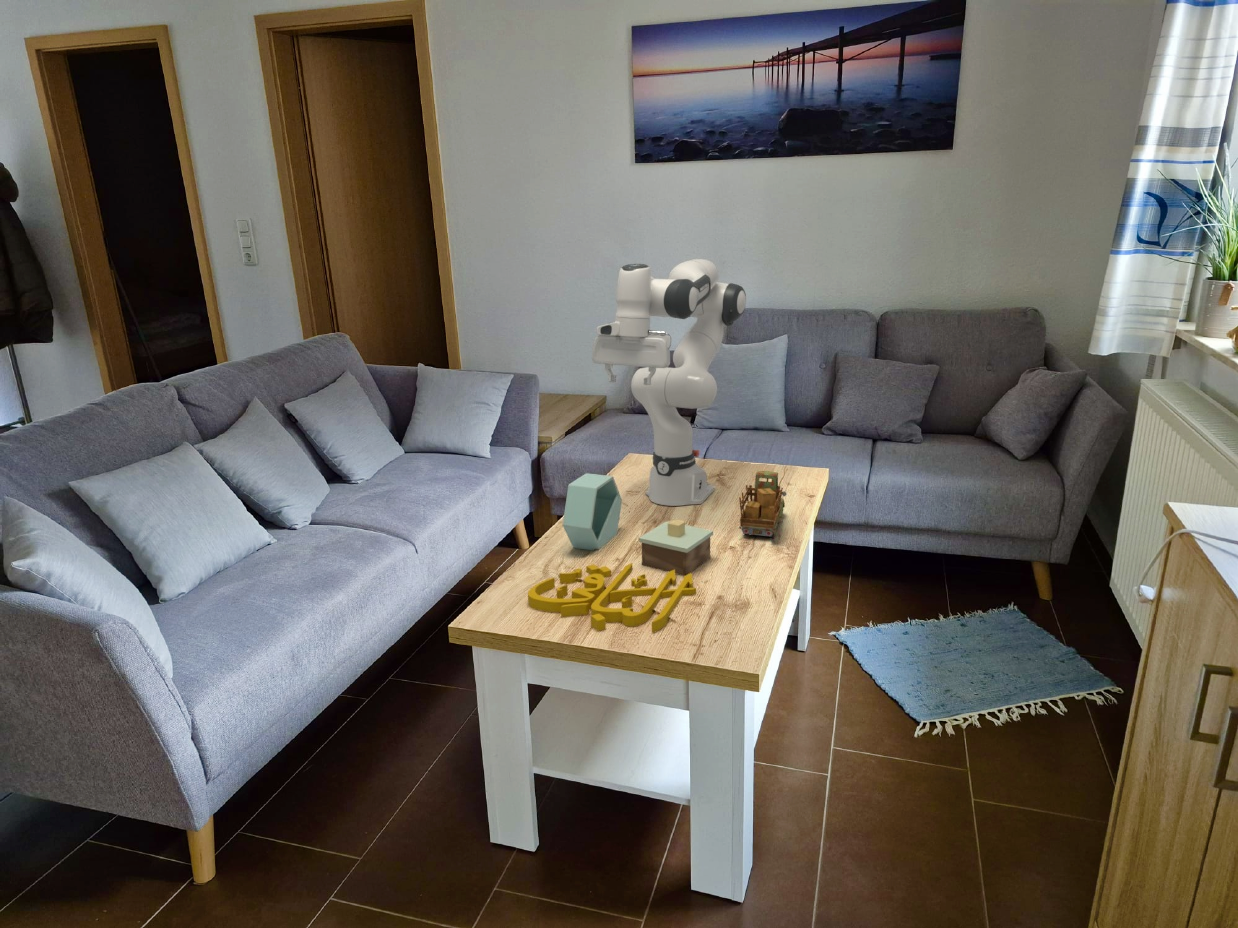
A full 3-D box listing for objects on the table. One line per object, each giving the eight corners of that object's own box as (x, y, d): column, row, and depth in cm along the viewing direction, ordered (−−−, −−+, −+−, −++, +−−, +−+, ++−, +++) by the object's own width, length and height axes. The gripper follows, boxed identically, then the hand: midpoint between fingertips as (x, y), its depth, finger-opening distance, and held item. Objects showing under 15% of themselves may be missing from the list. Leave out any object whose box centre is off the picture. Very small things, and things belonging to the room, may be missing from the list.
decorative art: (511, 603, 181) (575, 552, 207) (512, 615, 182) (575, 563, 208) (658, 632, 168) (707, 574, 194) (658, 645, 169) (707, 585, 195)
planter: (605, 564, 218) (584, 515, 203) (578, 559, 221) (555, 511, 206) (626, 512, 227) (608, 462, 212) (600, 508, 230) (580, 459, 215)
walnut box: (667, 551, 213) (667, 525, 211) (710, 561, 206) (710, 535, 204) (642, 568, 203) (641, 541, 201) (685, 579, 197) (686, 551, 195)
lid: (666, 524, 212) (666, 509, 210) (713, 534, 205) (713, 519, 203) (638, 541, 201) (638, 526, 200) (686, 552, 194) (686, 536, 193)
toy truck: (789, 514, 238) (791, 462, 233) (777, 547, 215) (779, 491, 210) (751, 510, 241) (752, 460, 236) (735, 543, 218) (736, 487, 214)
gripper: (674, 331, 215) (671, 385, 218) (599, 326, 222) (597, 379, 224) (668, 332, 210) (665, 387, 212) (590, 327, 216) (588, 381, 219)
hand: (629, 383), depth 218 cm, fingers open, 8 cm apart
